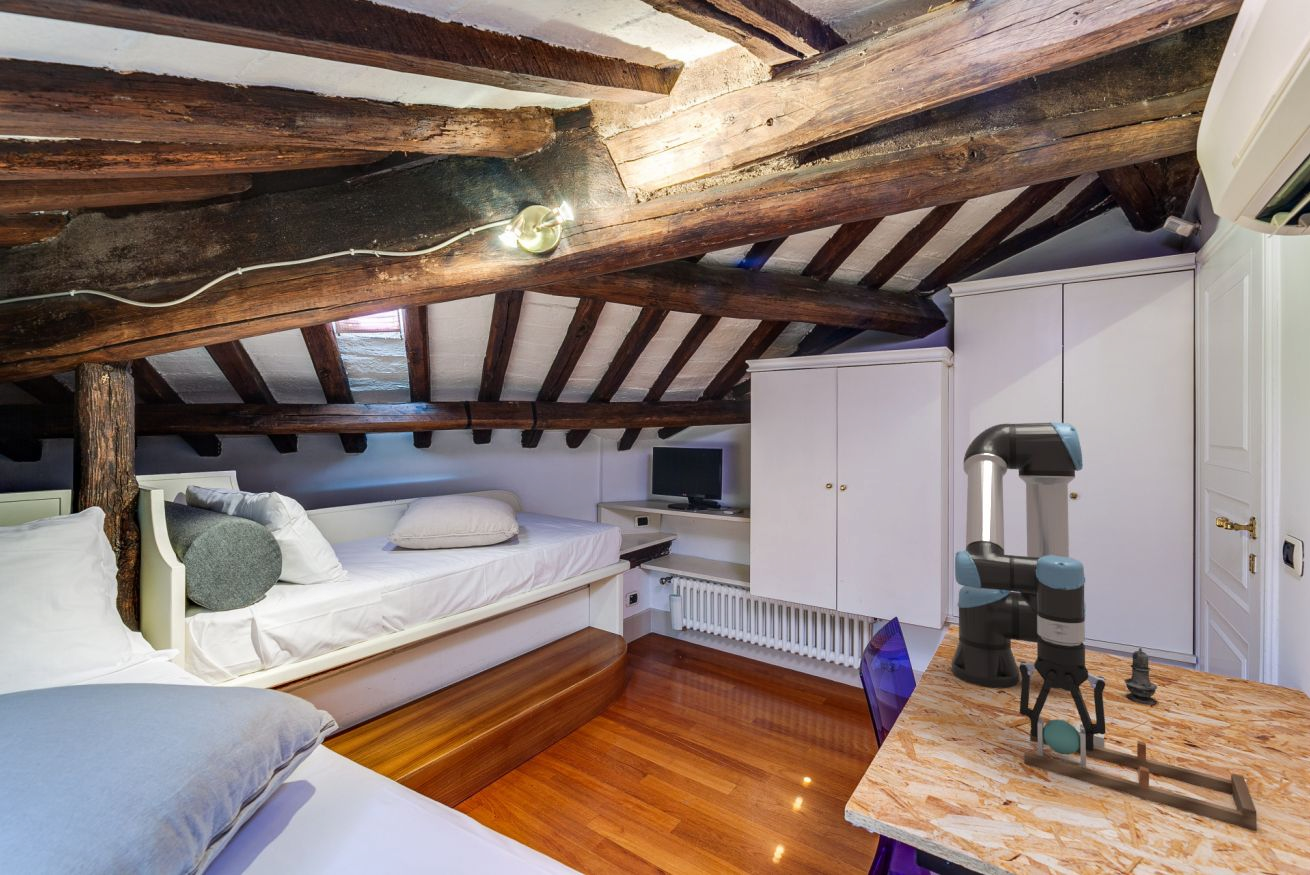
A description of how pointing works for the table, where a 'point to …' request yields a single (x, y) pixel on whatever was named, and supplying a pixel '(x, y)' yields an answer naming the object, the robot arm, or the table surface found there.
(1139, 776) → the lane
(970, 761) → the table surface
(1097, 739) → the white square frame
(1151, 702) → the dark grey chess piece
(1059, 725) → the ball
